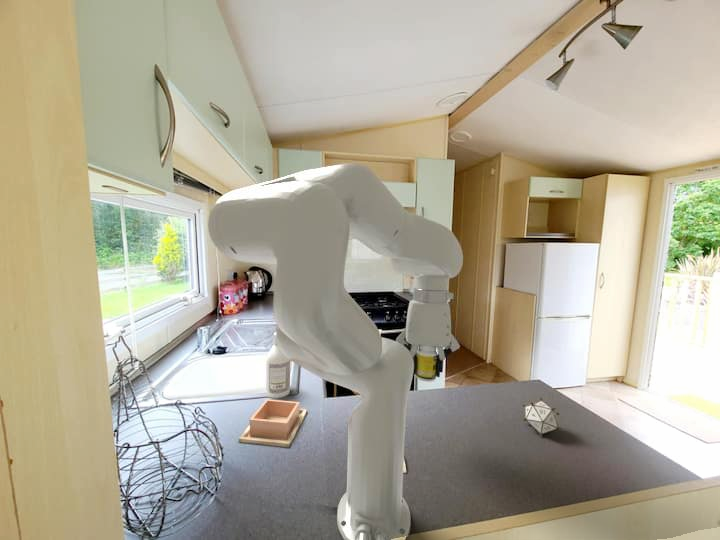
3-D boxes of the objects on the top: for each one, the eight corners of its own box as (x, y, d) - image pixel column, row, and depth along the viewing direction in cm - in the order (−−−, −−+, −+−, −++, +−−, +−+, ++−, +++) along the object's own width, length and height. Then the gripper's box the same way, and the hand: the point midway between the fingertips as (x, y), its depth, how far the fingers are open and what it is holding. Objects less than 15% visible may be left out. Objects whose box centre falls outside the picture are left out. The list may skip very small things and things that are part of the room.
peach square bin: (286, 439, 66) (286, 423, 66) (249, 435, 67) (249, 419, 67) (299, 416, 75) (299, 402, 75) (266, 413, 76) (266, 399, 76)
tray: (288, 452, 64) (288, 443, 63) (238, 446, 65) (238, 438, 65) (307, 416, 77) (307, 409, 77) (265, 412, 79) (265, 405, 79)
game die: (534, 446, 73) (513, 417, 72) (532, 419, 80) (513, 392, 79) (572, 444, 68) (551, 413, 67) (567, 416, 75) (547, 386, 74)
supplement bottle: (435, 383, 63) (437, 347, 63) (414, 380, 64) (416, 344, 64) (435, 375, 68) (437, 340, 67) (416, 372, 69) (417, 338, 69)
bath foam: (293, 397, 87) (294, 333, 86) (271, 404, 83) (272, 337, 81) (284, 388, 92) (284, 328, 91) (263, 394, 88) (263, 332, 87)
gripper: (465, 296, 67) (460, 371, 68) (393, 292, 70) (390, 363, 71) (471, 301, 60) (466, 385, 61) (392, 296, 63) (388, 376, 64)
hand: (425, 372), depth 66 cm, fingers closed on supplement bottle, 4 cm apart
